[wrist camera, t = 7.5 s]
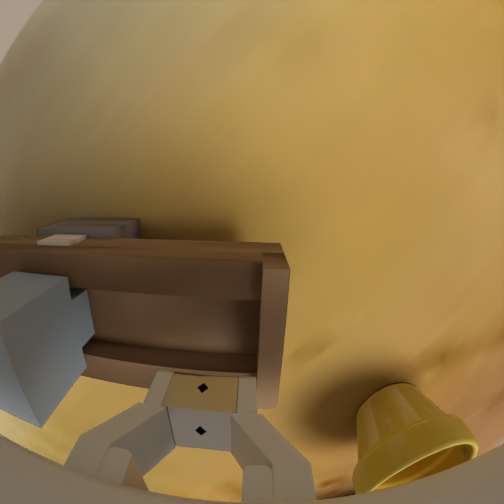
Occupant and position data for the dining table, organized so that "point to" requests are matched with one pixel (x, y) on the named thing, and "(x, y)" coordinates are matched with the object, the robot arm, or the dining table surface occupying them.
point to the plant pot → (406, 439)
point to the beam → (167, 300)
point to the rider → (40, 342)
